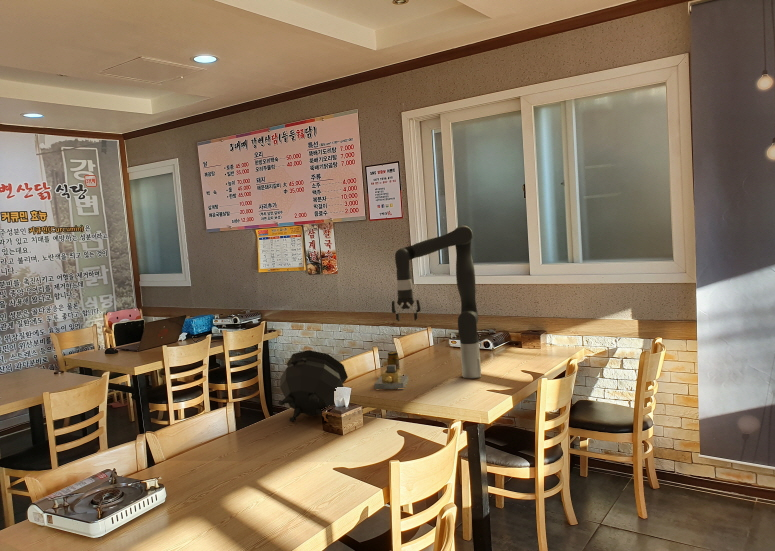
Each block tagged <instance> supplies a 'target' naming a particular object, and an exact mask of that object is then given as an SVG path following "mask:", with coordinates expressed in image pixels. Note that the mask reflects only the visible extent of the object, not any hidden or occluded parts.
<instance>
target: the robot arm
mask: <svg viewBox="0 0 775 551" xmlns="http://www.w3.org/2000/svg"><path fill="white" fill-rule="evenodd" d="M473 236H474V234H473V231H472V229H471V228H470V227H469V226H467V225H459V226H457V227H456V228H455V229H454V230H452V231H449V232H448V233H446V234H443V235H440V236H437V237H433V238H429V239H426V240H421V241H419V242H417V243H414V244H412V245H408V246H405V247H402V248H401V247H400V248H399V249H397V250H396V252H395V254H394V259H395V266H396V267H395V268H396V291H397V300H395V299H394V300H392V301H391V313H393V314H395V318H396V321H397V322H400V318H401V317H400V311H401V310H405V309H406V310H409V309H410V310H412V312H413V317H414V321H417V320H418V313H420V312H421V310H422V309H421V300H420V299H419V298H418V299H414V296H413V295H414V292H413V282H412V274H411V269H410V261H411V260H414V259H416V258H421V257H424V256H428V255H431V254H433V253H435V252H438V251H441V250H442V249H446V248H451V247H455V252H456V259H455V276H456V278H455V279H456V286H457V290H458V291H457V292H458V293H459V297H460V302H461V304H460V309H461V310H460V313H459V314H458V317H457V329H458V338H459V347H460V359H461V360H460V361H461V374H462V377H463V378H464V379H478V378H481V376H482V367H481V366H482V365H481V356H480V355H481V354H480V342H479V341H480V338H479V335H478V328H477V327H478V326H477V325H478V322H479V315H478V314H479V313H478V309H477V303H476V293H477V292H476V274H475V272H476V270H475V264H474V261H473V256H472V239H473ZM414 303H415V305H416V307H415V306H414ZM397 305H398V308H397V309H396V306H397ZM416 308H417V309H416Z"/></svg>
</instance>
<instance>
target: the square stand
mask: <svg viewBox="0 0 775 551" xmlns="http://www.w3.org/2000/svg"><path fill="white" fill-rule="evenodd" d="M401 374H402V373H401V369H400V370H396V373H387V369H383V371H382V372H381V375H380V376H379V377H378V379H377V380H376V381H375V382H374V390H375V389H397V390H399V389H398V388H404V387H405V388H406V386H407V385H406V384H408V383H409V375H406V374H405V375H404V376H401ZM407 382H408V383H407ZM405 385H406V386H405ZM405 388H404V389H405Z"/></svg>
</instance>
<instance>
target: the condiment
mask: <svg viewBox="0 0 775 551" xmlns="http://www.w3.org/2000/svg"><path fill="white" fill-rule="evenodd" d="M387 365H396V370H400V371H401V369H400V367H401V366H400V358H399V353H398V352H397V351H390V352H388V353H387ZM401 374H402V375H403V374H404V373H401ZM404 375H406V374H404Z"/></svg>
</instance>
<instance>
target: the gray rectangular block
mask: <svg viewBox="0 0 775 551" xmlns="http://www.w3.org/2000/svg"><path fill="white" fill-rule="evenodd" d="M386 370H387V373H396V365H388V364H387V365H386Z"/></svg>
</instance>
